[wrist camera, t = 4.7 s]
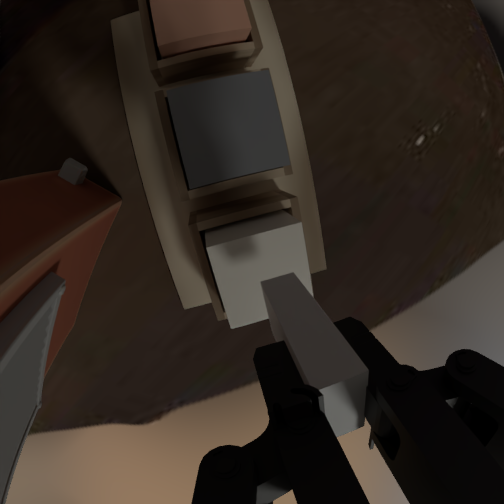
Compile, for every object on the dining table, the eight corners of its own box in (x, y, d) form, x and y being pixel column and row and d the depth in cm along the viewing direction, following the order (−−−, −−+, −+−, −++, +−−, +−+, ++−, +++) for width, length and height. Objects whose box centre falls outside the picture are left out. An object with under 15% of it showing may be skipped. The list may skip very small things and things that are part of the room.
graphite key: (192, 182, 17) (190, 189, 13) (173, 105, 15) (166, 90, 12) (271, 162, 17) (290, 164, 14) (253, 87, 16) (268, 69, 12)
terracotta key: (165, 67, 15) (157, 46, 11) (154, 10, 13) (146, -18, 10) (240, 51, 16) (251, 27, 12) (225, -4, 14) (232, -34, 10)
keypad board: (184, 307, 23) (182, 338, 19) (111, 22, 14) (95, -3, 10) (324, 267, 24) (349, 290, 20) (263, -9, 16) (277, -38, 11)
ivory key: (224, 297, 20) (231, 328, 16) (204, 228, 18) (206, 247, 14) (293, 277, 20) (314, 304, 16) (280, 208, 18) (301, 222, 15)
